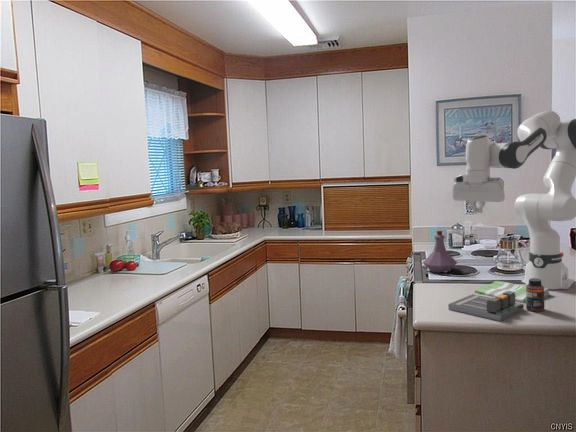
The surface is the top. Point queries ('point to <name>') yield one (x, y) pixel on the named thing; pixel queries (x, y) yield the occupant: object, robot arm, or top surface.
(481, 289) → the dish towel
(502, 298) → the breaker mid
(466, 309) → the panel
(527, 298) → the supplement bottle
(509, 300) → the block
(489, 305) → the block
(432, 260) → the flask
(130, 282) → the top surface
